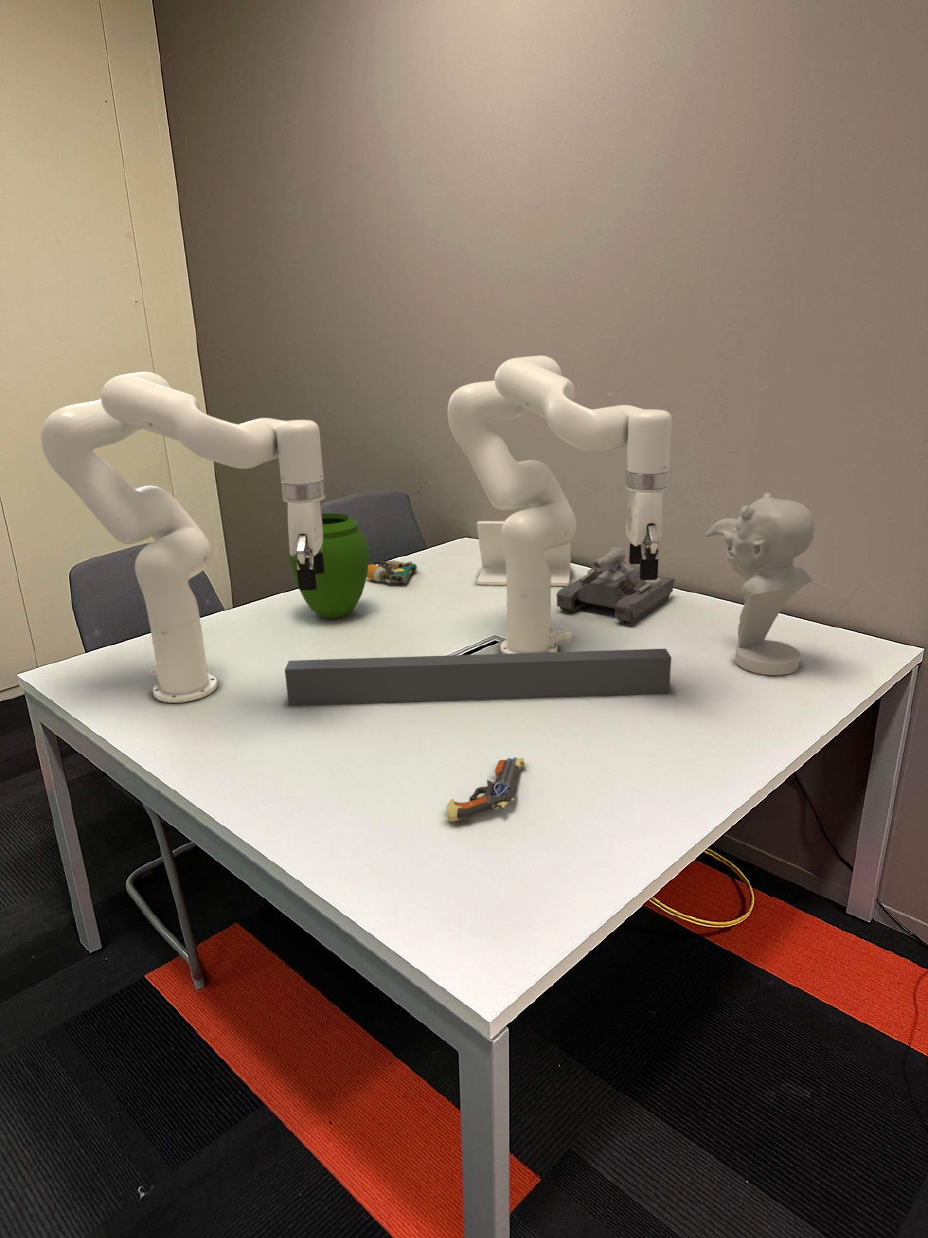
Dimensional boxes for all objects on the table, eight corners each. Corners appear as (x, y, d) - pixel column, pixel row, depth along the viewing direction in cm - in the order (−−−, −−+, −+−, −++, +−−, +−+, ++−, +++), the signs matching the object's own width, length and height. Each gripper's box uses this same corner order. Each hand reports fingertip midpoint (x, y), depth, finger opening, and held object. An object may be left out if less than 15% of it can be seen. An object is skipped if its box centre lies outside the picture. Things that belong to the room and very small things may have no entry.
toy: (603, 584, 229) (605, 530, 224) (673, 597, 218) (677, 540, 213) (555, 612, 210) (556, 553, 205) (630, 627, 199) (633, 566, 194)
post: (663, 683, 171) (666, 648, 168) (669, 693, 166) (671, 657, 164) (292, 695, 170) (288, 660, 168) (288, 705, 166) (284, 669, 163)
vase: (389, 608, 216) (383, 514, 208) (339, 633, 201) (330, 533, 192) (330, 596, 226) (322, 506, 218) (278, 619, 211) (267, 523, 202)
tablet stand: (569, 585, 229) (570, 524, 223) (476, 584, 232) (475, 523, 226) (570, 566, 246) (571, 508, 240) (484, 564, 249) (483, 507, 243)
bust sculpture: (735, 630, 196) (748, 478, 183) (821, 666, 176) (842, 499, 163) (681, 644, 189) (691, 488, 176) (764, 683, 169) (782, 510, 157)
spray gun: (385, 567, 251) (431, 574, 246) (355, 581, 237) (403, 588, 231) (385, 553, 250) (431, 560, 244) (355, 566, 236) (403, 573, 230)
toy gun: (442, 810, 126) (509, 808, 124) (466, 754, 144) (524, 752, 142) (445, 827, 127) (511, 825, 125) (468, 769, 145) (526, 767, 142)
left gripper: (291, 481, 162) (299, 568, 168) (273, 502, 145) (283, 597, 151) (330, 480, 162) (338, 567, 168) (317, 501, 145) (325, 595, 151)
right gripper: (617, 472, 162) (614, 558, 168) (635, 491, 145) (631, 586, 151) (657, 470, 162) (652, 557, 168) (679, 490, 145) (673, 585, 151)
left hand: (312, 581), depth 160 cm, fingers open, 9 cm apart
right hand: (642, 571), depth 159 cm, fingers open, 9 cm apart
